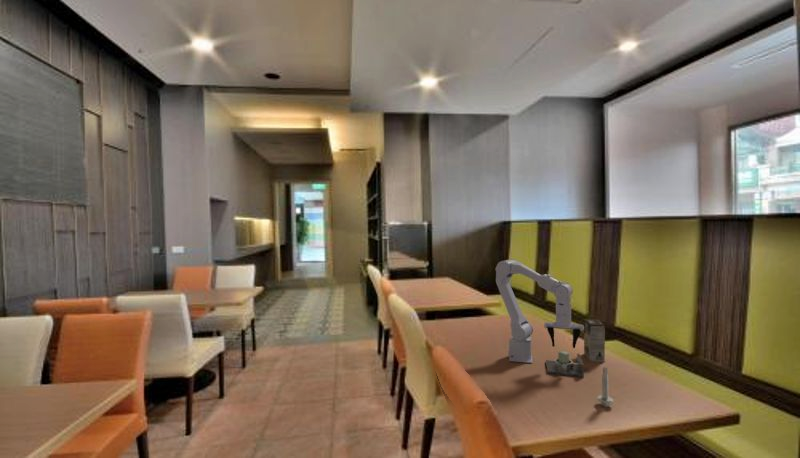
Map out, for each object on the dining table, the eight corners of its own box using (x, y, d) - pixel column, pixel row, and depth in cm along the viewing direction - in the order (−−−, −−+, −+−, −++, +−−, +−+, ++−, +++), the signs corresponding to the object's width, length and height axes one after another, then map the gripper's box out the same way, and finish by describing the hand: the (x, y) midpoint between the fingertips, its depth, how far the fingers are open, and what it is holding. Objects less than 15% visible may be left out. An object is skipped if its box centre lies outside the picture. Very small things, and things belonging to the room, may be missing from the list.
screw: (597, 407, 123) (596, 400, 127) (614, 410, 121) (612, 403, 126) (597, 368, 122) (596, 362, 127) (614, 370, 121) (612, 364, 125)
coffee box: (583, 353, 170) (583, 318, 169) (598, 354, 169) (598, 319, 168) (589, 361, 161) (589, 324, 160) (605, 362, 160) (605, 325, 159)
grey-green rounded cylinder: (558, 368, 152) (558, 353, 151) (558, 364, 155) (558, 350, 155) (569, 370, 150) (569, 355, 150) (569, 366, 154) (569, 351, 154)
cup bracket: (547, 373, 149) (547, 361, 149) (545, 362, 161) (545, 350, 161) (583, 377, 145) (583, 364, 145) (579, 365, 157) (579, 353, 156)
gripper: (544, 314, 151) (545, 348, 152) (584, 317, 146) (584, 351, 147) (543, 310, 158) (544, 342, 158) (581, 312, 153) (581, 345, 154)
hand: (563, 346), depth 153 cm, fingers open, 7 cm apart
